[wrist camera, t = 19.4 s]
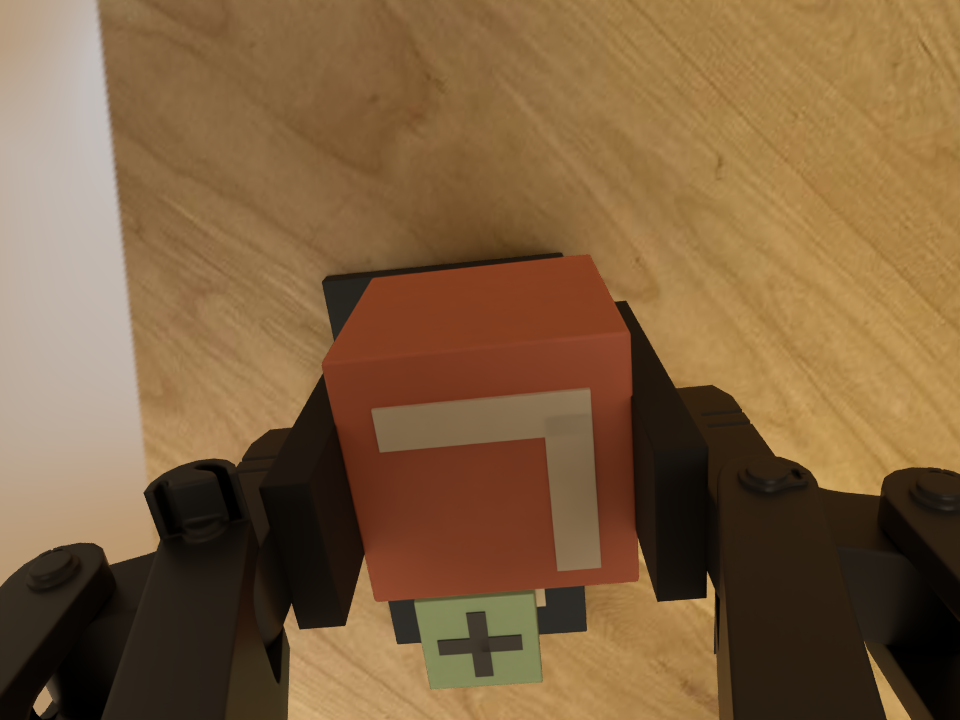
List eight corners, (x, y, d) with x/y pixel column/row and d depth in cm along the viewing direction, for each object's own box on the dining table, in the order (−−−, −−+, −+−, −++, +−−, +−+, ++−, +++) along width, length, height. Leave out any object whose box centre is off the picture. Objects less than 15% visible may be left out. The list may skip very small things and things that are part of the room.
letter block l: (371, 277, 16) (317, 364, 11) (590, 253, 15) (632, 332, 11) (406, 464, 18) (373, 607, 13) (601, 446, 17) (641, 587, 13)
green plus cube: (424, 528, 33) (413, 604, 28) (528, 519, 33) (534, 595, 28) (438, 608, 35) (430, 692, 30) (536, 601, 35) (543, 684, 30)
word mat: (325, 276, 29) (320, 282, 28) (562, 252, 28) (564, 257, 27) (398, 633, 37) (396, 646, 36) (585, 620, 36) (587, 633, 35)
